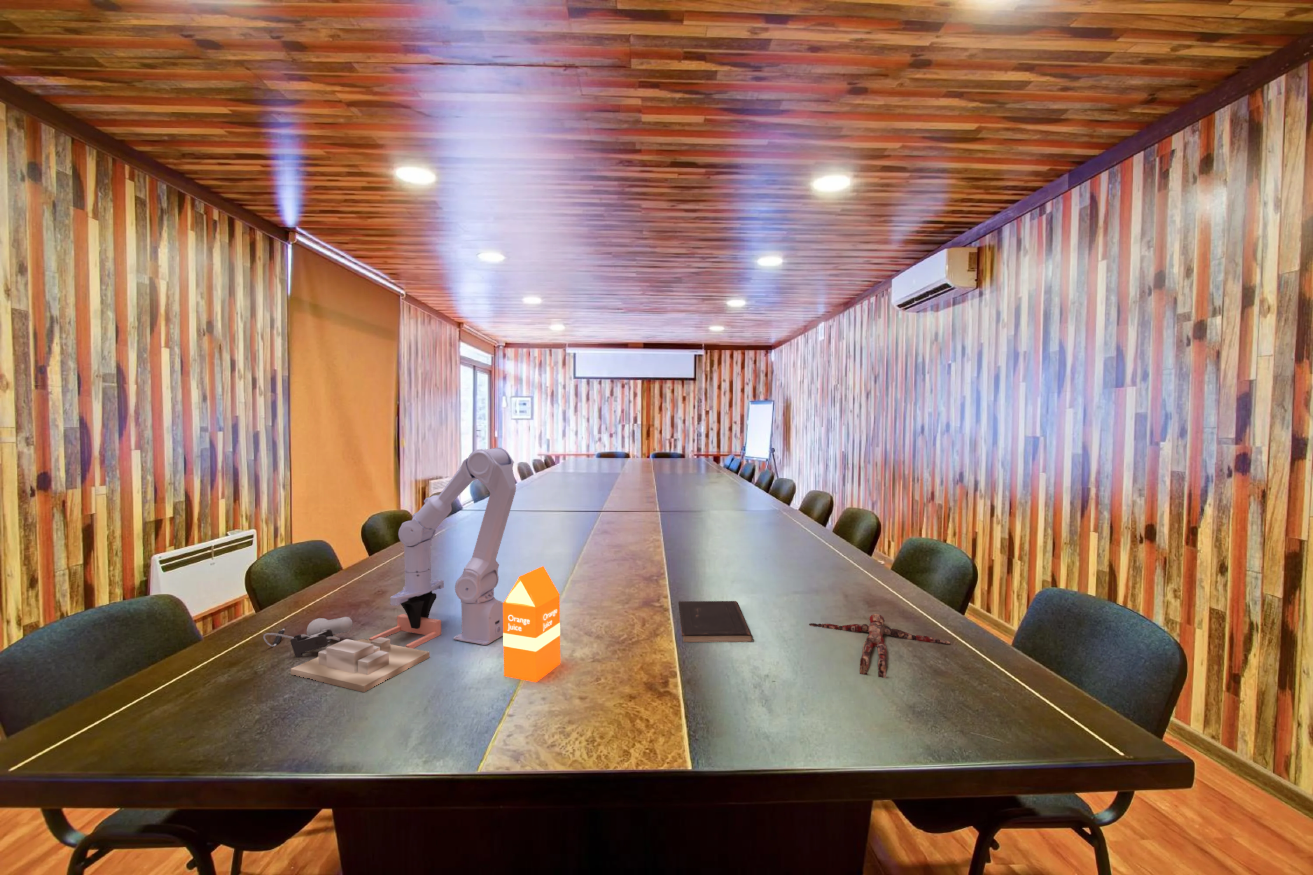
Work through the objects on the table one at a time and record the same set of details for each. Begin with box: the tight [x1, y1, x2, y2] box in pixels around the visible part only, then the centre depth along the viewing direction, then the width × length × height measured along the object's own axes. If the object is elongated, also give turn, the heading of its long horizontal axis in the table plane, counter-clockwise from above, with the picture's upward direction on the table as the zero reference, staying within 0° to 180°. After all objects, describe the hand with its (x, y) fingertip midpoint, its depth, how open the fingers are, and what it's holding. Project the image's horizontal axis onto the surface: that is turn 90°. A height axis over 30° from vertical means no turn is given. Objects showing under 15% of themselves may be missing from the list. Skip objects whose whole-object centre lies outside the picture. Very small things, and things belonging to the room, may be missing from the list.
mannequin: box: [808, 613, 951, 679], centre depth 122 cm, size 26×29×4 cm
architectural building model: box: [290, 637, 431, 693], centre depth 112 cm, size 16×20×5 cm
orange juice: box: [502, 565, 561, 683], centre depth 109 cm, size 8×9×20 cm
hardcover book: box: [678, 600, 754, 643], centre depth 134 cm, size 16×23×2 cm
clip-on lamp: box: [262, 616, 354, 658], centre depth 122 cm, size 12×6×18 cm
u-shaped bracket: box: [368, 613, 442, 649], centre depth 126 cm, size 10×12×3 cm
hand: (419, 626), depth 129 cm, fingers closed on u-shaped bracket, 2 cm apart
